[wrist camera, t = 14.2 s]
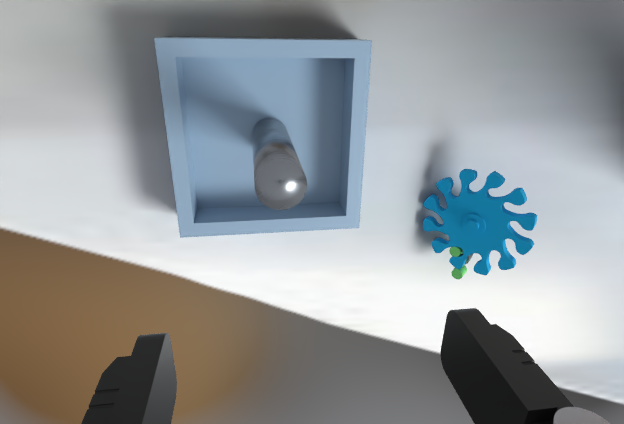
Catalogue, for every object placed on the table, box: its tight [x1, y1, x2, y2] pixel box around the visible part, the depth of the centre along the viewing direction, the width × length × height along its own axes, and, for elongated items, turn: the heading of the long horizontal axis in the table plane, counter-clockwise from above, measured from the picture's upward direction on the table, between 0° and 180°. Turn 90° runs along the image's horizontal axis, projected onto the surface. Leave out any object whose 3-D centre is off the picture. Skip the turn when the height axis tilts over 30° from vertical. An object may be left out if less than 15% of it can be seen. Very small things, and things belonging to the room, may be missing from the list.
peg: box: [252, 118, 307, 210], centre depth 29 cm, size 3×3×12 cm
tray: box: [154, 37, 372, 237], centre depth 33 cm, size 15×15×4 cm
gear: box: [423, 169, 537, 279], centre depth 39 cm, size 11×6×10 cm
